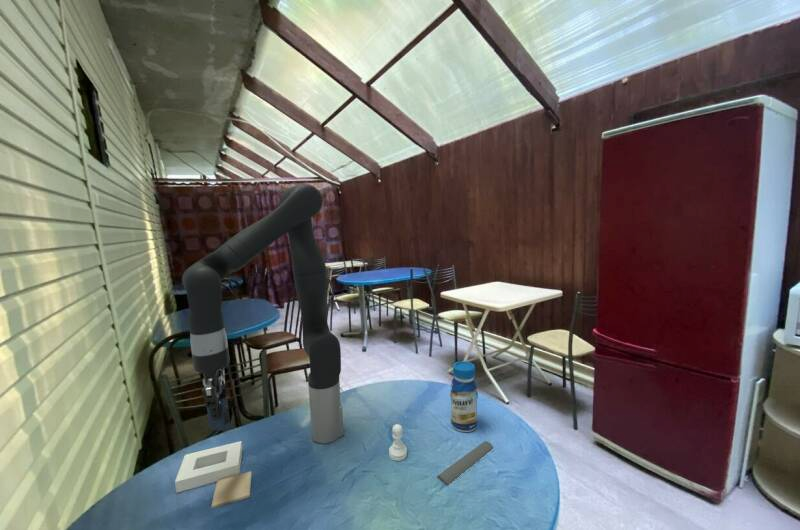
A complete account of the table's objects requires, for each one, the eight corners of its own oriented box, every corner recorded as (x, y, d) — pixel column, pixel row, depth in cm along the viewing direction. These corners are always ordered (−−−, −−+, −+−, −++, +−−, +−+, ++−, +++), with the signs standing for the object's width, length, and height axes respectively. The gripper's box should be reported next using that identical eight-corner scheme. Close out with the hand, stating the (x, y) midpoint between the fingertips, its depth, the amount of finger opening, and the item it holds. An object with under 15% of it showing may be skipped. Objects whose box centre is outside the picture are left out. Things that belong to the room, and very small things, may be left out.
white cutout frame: (242, 450, 94) (241, 440, 93) (239, 475, 84) (238, 464, 84) (186, 464, 89) (185, 454, 88) (176, 492, 80) (174, 482, 79)
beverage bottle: (481, 421, 104) (481, 363, 101) (472, 436, 97) (472, 374, 94) (456, 413, 108) (456, 357, 106) (446, 427, 101) (445, 367, 98)
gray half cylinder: (495, 451, 91) (495, 445, 91) (447, 489, 79) (447, 482, 79) (482, 443, 95) (482, 438, 94) (435, 478, 82) (435, 472, 82)
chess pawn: (405, 462, 87) (404, 432, 86) (387, 460, 88) (386, 430, 87) (408, 449, 92) (407, 420, 91) (391, 447, 93) (390, 418, 92)
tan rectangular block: (251, 473, 85) (251, 471, 85) (249, 497, 78) (249, 494, 78) (217, 482, 82) (217, 480, 82) (211, 508, 75) (211, 506, 75)
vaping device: (225, 431, 79) (219, 385, 77) (207, 429, 80) (201, 383, 78) (233, 425, 81) (227, 380, 79) (215, 422, 82) (209, 378, 81)
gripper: (222, 356, 72) (231, 427, 74) (231, 335, 85) (238, 396, 88) (183, 363, 69) (194, 435, 72) (199, 340, 83) (207, 402, 85)
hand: (218, 413), depth 80 cm, fingers closed on vaping device, 3 cm apart
